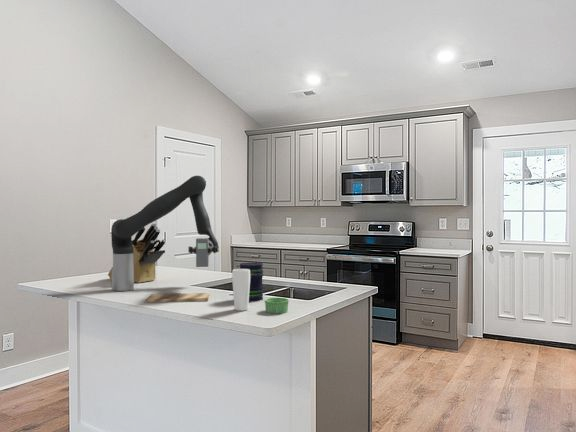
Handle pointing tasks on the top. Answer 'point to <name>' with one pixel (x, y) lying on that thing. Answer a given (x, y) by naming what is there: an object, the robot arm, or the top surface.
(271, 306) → the ramekin
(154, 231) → the knife block
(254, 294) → the storage jar
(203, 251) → the tall grey rectangular prism
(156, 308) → the top surface
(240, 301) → the drinking glass
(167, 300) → the board
